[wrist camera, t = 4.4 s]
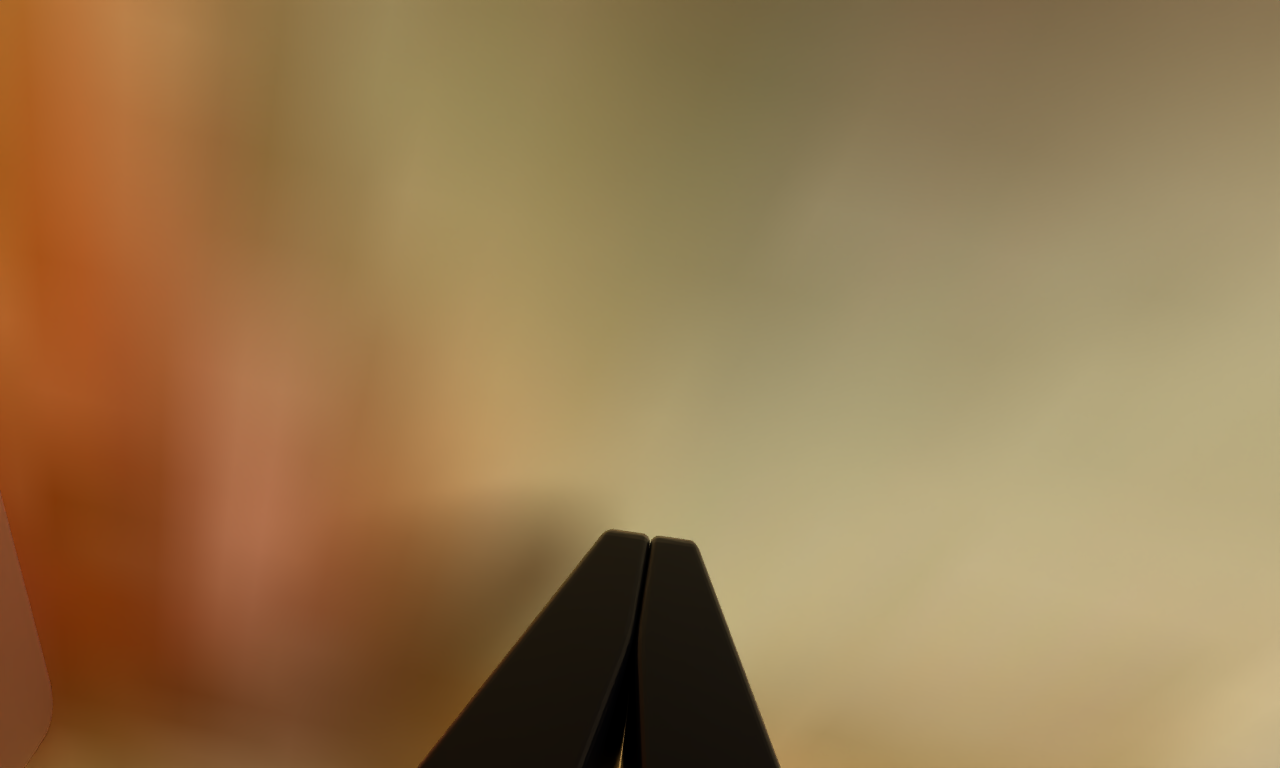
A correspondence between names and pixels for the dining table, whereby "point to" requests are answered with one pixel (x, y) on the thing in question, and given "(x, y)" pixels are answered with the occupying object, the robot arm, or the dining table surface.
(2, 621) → the brown hollow cylinder
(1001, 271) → the dining table surface
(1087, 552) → the dining table surface
